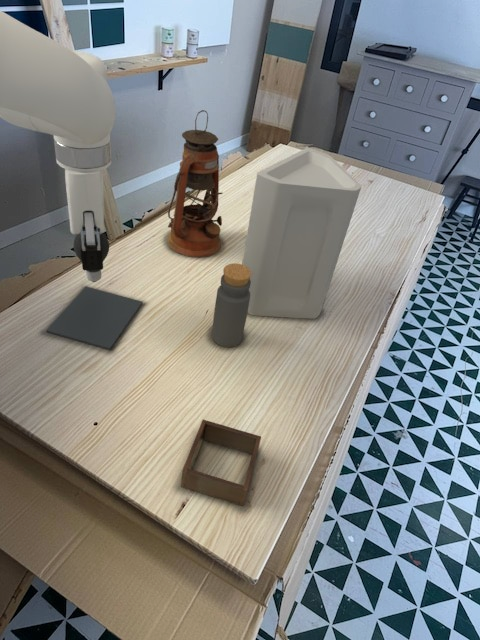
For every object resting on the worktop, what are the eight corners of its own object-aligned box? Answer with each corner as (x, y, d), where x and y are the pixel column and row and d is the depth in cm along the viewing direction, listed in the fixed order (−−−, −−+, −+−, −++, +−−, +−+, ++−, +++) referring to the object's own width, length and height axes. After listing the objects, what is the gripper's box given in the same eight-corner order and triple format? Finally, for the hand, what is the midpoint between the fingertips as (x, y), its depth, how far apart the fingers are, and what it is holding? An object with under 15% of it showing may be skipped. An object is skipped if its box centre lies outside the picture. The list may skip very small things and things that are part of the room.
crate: (242, 506, 62) (247, 490, 60) (180, 486, 63) (182, 470, 61) (257, 452, 69) (261, 436, 66) (200, 435, 70) (202, 419, 67)
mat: (110, 350, 81) (110, 348, 80) (46, 332, 82) (46, 330, 81) (142, 303, 91) (142, 301, 91) (85, 288, 92) (85, 286, 92)
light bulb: (94, 294, 78) (90, 243, 72) (70, 281, 80) (64, 230, 74) (117, 280, 82) (115, 230, 76) (94, 267, 84) (90, 218, 78)
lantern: (195, 267, 103) (207, 129, 84) (150, 245, 107) (151, 109, 88) (236, 239, 115) (255, 112, 95) (193, 220, 119) (203, 94, 100)
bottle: (242, 349, 85) (254, 283, 76) (210, 345, 85) (219, 279, 75) (242, 328, 90) (254, 263, 80) (212, 324, 89) (220, 259, 80)
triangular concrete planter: (296, 339, 89) (335, 206, 71) (233, 305, 95) (255, 173, 77) (337, 295, 102) (379, 173, 84) (280, 267, 108) (308, 147, 90)
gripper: (55, 128, 71) (67, 232, 83) (54, 177, 59) (68, 290, 71) (106, 130, 74) (111, 231, 85) (115, 178, 61) (119, 287, 73)
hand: (92, 257), depth 78 cm, fingers closed on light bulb, 5 cm apart
